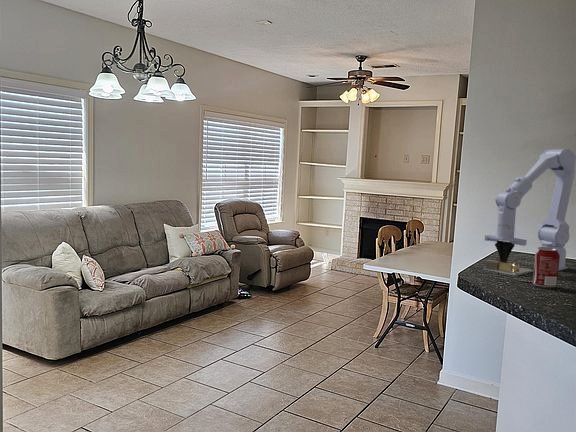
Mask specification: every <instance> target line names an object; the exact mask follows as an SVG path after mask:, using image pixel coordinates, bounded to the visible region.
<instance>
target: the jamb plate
mask: <svg viewBox="0 0 576 432" xmlns="http://www.w3.org/2000/svg"><path fill="white" fill-rule="evenodd" d="M482 271H488V272H493V271H494V272H493V273H498V272H499V273H500V274H505V275H509V276H515V277H517V276H522V275H525V274H528V273H534V269H529V268H523V267H519V272H513V271H507V272H506V271H500V270H492V269H486V266H485V267H482ZM499 273H498V274H499Z"/></svg>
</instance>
